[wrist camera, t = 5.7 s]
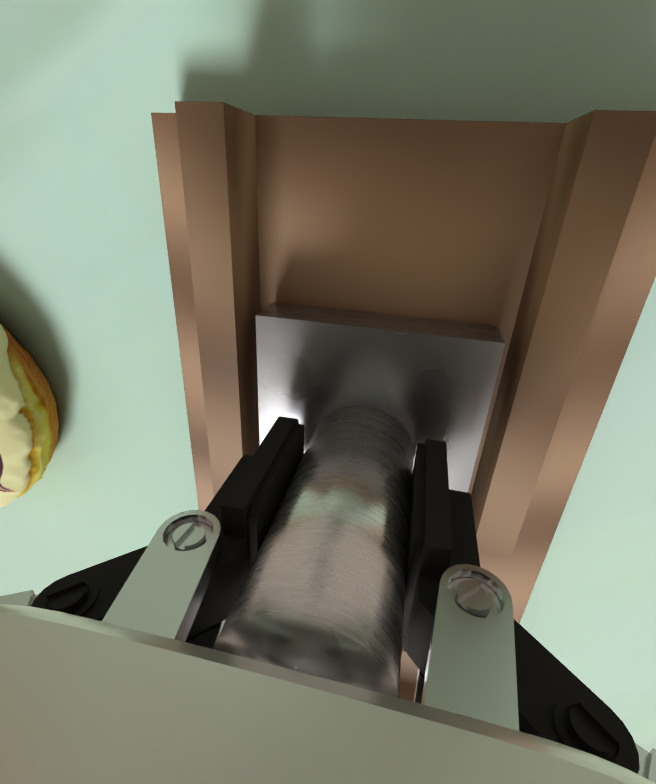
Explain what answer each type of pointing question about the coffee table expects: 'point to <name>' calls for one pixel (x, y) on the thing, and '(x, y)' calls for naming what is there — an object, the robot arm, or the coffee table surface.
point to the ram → (354, 480)
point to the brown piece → (418, 276)
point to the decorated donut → (23, 420)
